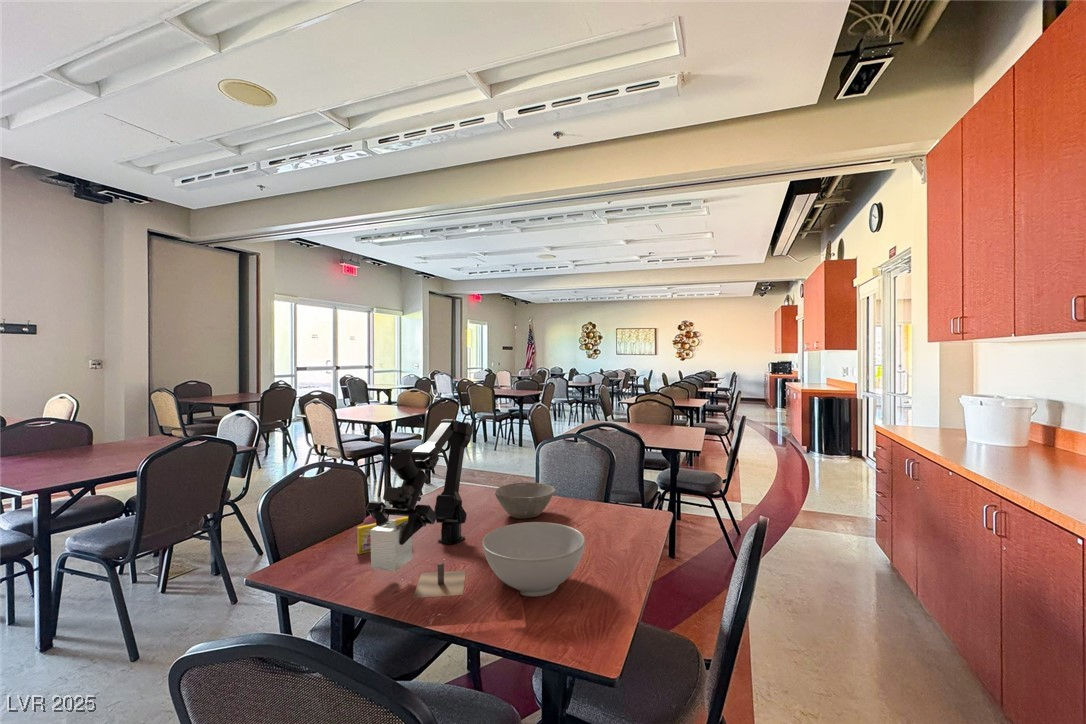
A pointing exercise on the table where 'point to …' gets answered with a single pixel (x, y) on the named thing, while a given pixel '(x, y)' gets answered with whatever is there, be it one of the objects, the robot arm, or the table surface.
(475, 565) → the table surface
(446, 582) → the peg stand
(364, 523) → the pink sprinkled cake pop
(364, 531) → the candy box
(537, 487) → the ceramic bowl
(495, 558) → the decorative bowl
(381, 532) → the c link
